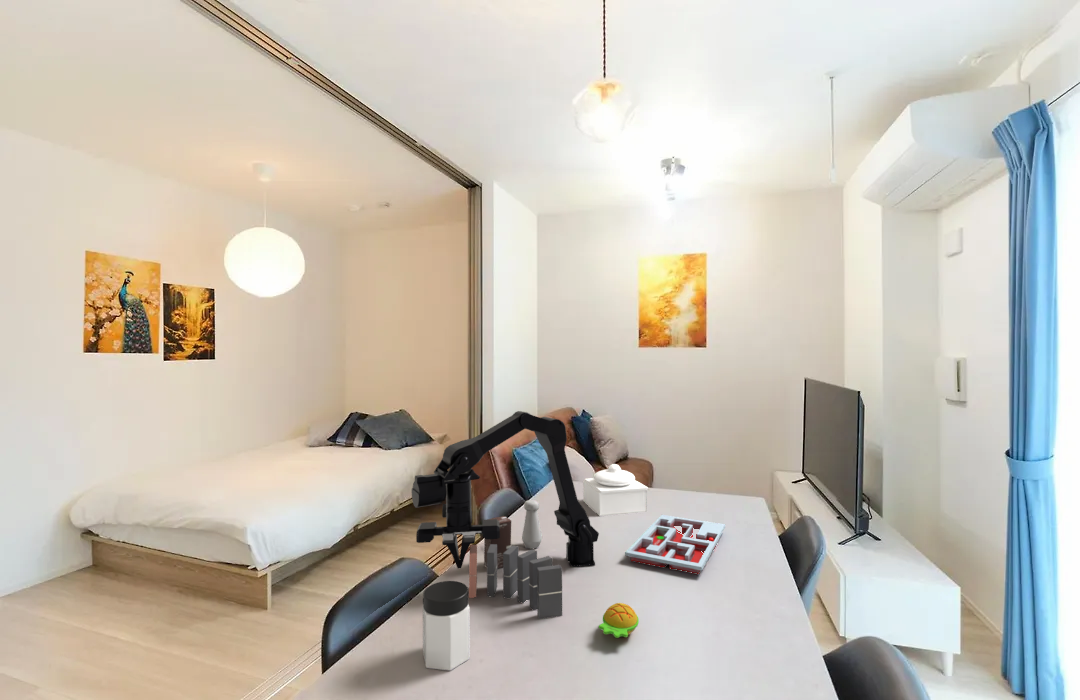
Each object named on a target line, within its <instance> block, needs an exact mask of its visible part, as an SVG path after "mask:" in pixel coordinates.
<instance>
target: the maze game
mask: <svg viewBox="0 0 1080 700" xmlns="http://www.w3.org/2000/svg"><path fill="white" fill-rule="evenodd" d="M674 526H681V527H682V534H684V533H685V534H684V536H683V535H682V534H680V533H681V532H680V531H678V530H677V529H676V528H675V527H674ZM693 528H694V529H699V531H698V533H697V534H696V539H694V538H692V537H693V535H692V533H693ZM725 528H726V524H725V523H718V522H714V521H713V522H712V521H707V520H698V519H692V518H686V517H681V516H679V517H678V516H673V515H665V514H661V515H660V516H659V517H658V518H656V520H655V521H654V522H653V523H652V524H650V526H649V527H648V528H647V529H646V530H645V531H644V532H643V533H642V534H641V535H640V536H639V537H637V539H636V540H635V541H634V542H633V544H632V545H630V546H629V548H627V550H626V551H625V552H624V555H625V556H626V557H627V556H628V557H630V561H631V562H633V561H635V562H634V563H638V562H640V563H639V564H642V563H645V564H644V565H647V564H650V565H649V566H652V565H655V566H654V567H657V566H660V567H659V568H662V567H665V566H666V565H667V566H668V565H669V569H670V568H671V569H670V570H672V569H677V570H682V571H687V572H692V573H697V574H699V575H700V573H701V571H703V570H704V567H705V566H706V564H707V562H708V561H709V560H708V559H710V556H711V554H712V553H713V552H712V551H713V550H714V549H715V547H716V545H717V543H718V544H719V540H720V538H721V536H722V534H723V532H724V531H725ZM677 531H678V532H680V533H678V532H677ZM691 535H692V536H691ZM690 536H691V537H690ZM707 540H709V541H707ZM717 546H718V545H717ZM716 548H717V547H716ZM715 550H716V549H715ZM701 551H702V552H703V553H704V554H703V553H702V552H701ZM704 551H705V552H704ZM702 555H703V556H702ZM667 566H666V567H667ZM666 567H665V568H666ZM677 570H676V571H677ZM700 570H701V571H700ZM682 571H681V572H682ZM687 572H686V573H687ZM699 572H700V573H699ZM692 573H691V574H692ZM697 574H696V575H697Z"/></svg>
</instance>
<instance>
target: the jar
mask: <svg viewBox="0 0 1080 700" xmlns="http://www.w3.org/2000/svg"><path fill="white" fill-rule="evenodd" d="M470 609H471V608H470V605H469V586H468V585H467V584H465V583H463V582H462V581H461V582H460V581H457V580H456V581H455V580H443V581H439V582H436V583H433V584H431V585H429V586H427V587H426V588H425V589H424V591H423V594H422V655H423V658H424V659H423V660H424V664H425V668H426V669H431V670H439V671H452V670H453V669H456V668H457V667H458V666H461V665H462V664H463V663H465V662H467V661H468V660H470V658H471V636H470V635H471V633H470V632H471V628H470V627H471V625H470V624H471V623H470V622H471V619H470V618H471V617H470V616H471V611H470Z"/></svg>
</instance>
